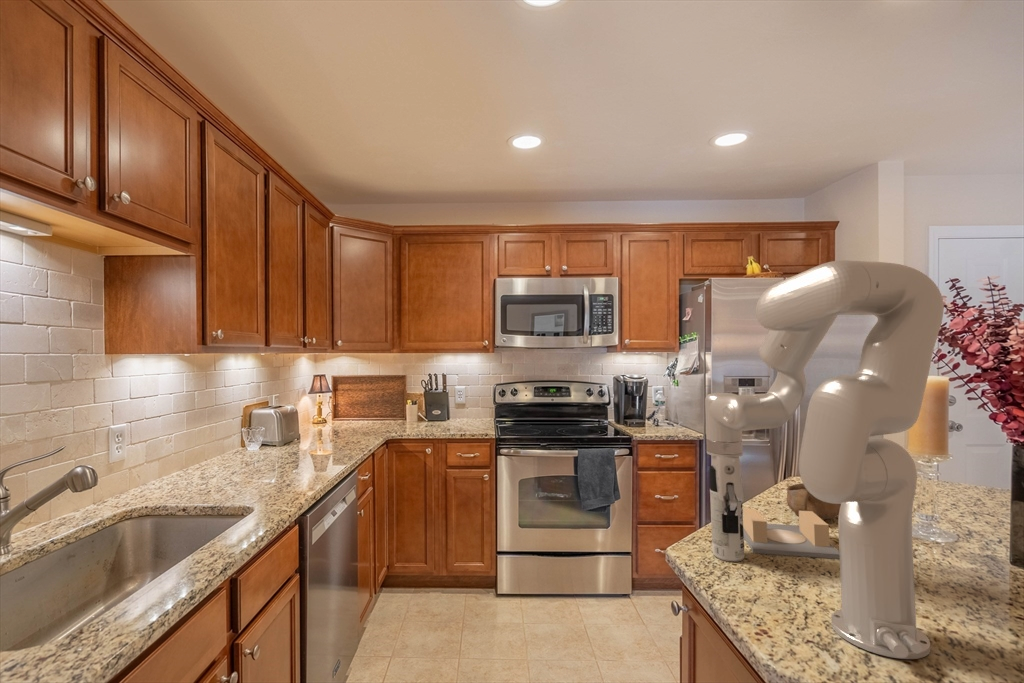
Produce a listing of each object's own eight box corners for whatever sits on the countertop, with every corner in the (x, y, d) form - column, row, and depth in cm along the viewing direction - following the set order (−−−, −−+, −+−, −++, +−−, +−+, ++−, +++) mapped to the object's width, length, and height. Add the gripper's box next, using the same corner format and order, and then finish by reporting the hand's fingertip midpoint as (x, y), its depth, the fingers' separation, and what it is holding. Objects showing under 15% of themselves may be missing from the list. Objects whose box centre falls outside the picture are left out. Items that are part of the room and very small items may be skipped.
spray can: (748, 563, 104) (745, 471, 104) (715, 561, 105) (712, 470, 106) (740, 551, 110) (737, 464, 111) (709, 549, 112) (706, 463, 112)
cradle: (842, 559, 105) (841, 531, 105) (753, 552, 109) (752, 526, 109) (811, 530, 122) (810, 506, 123) (735, 525, 127) (735, 502, 127)
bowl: (850, 528, 119) (834, 488, 121) (788, 533, 127) (775, 495, 129) (852, 509, 133) (838, 473, 135) (797, 514, 141) (784, 480, 143)
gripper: (752, 455, 99) (755, 542, 99) (733, 441, 116) (736, 515, 115) (713, 454, 101) (716, 540, 100) (700, 440, 118) (703, 513, 117)
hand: (726, 526), depth 108 cm, fingers closed on spray can, 6 cm apart
